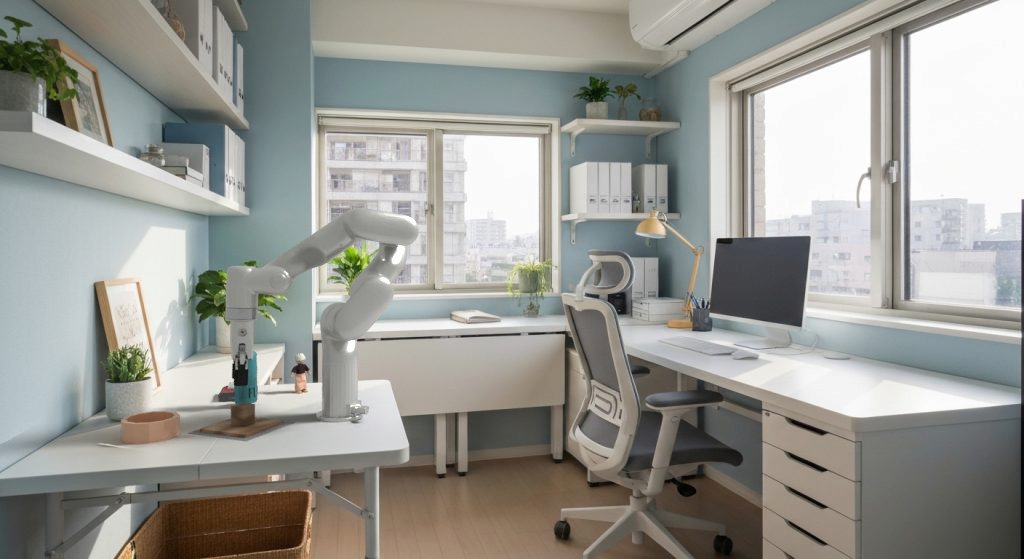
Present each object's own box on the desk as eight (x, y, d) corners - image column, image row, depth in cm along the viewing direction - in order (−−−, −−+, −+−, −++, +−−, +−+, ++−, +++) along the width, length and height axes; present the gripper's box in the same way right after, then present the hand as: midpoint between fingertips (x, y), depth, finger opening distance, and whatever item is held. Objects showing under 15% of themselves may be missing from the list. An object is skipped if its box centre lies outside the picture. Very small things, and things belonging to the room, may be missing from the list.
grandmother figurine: (303, 389, 210) (303, 351, 210) (312, 390, 209) (312, 352, 208) (286, 393, 203) (286, 354, 203) (295, 395, 202) (295, 355, 201)
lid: (283, 423, 167) (283, 401, 167) (245, 437, 154) (245, 414, 153) (240, 418, 171) (240, 397, 171) (199, 431, 158) (199, 408, 158)
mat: (295, 423, 168) (295, 422, 168) (246, 442, 151) (246, 441, 151) (240, 417, 174) (240, 415, 174) (187, 434, 157) (187, 433, 157)
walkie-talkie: (249, 402, 193) (254, 388, 212) (249, 388, 193) (254, 375, 212) (217, 404, 190) (225, 390, 209) (217, 389, 190) (225, 376, 209)
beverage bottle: (249, 410, 182) (248, 340, 181) (228, 408, 183) (228, 339, 182) (262, 405, 188) (262, 337, 187) (242, 403, 190) (242, 336, 189)
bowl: (190, 433, 158) (190, 413, 158) (148, 447, 147) (148, 425, 146) (153, 428, 162) (153, 409, 162) (109, 441, 150) (109, 420, 150)
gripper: (260, 317, 155) (258, 387, 156) (254, 311, 171) (253, 375, 171) (226, 318, 152) (224, 389, 152) (224, 311, 167) (222, 376, 168)
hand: (239, 382), depth 162 cm, fingers open, 9 cm apart
